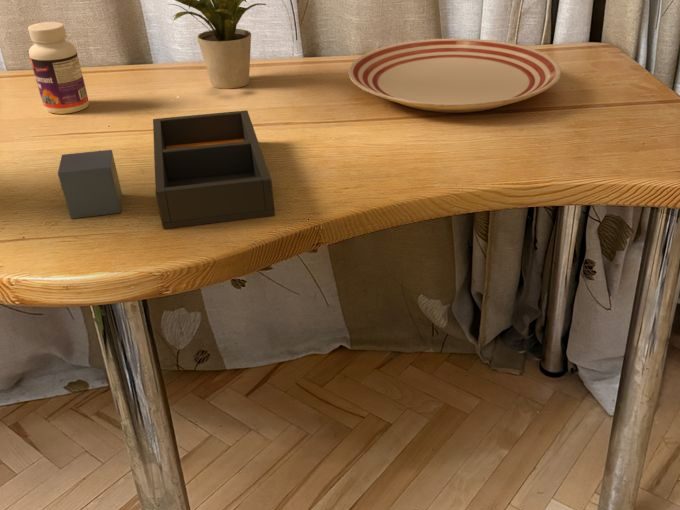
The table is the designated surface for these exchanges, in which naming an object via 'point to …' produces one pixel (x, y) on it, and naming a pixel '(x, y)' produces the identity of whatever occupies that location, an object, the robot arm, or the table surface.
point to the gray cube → (90, 184)
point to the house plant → (223, 41)
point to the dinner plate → (454, 74)
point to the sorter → (210, 170)
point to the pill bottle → (57, 69)
